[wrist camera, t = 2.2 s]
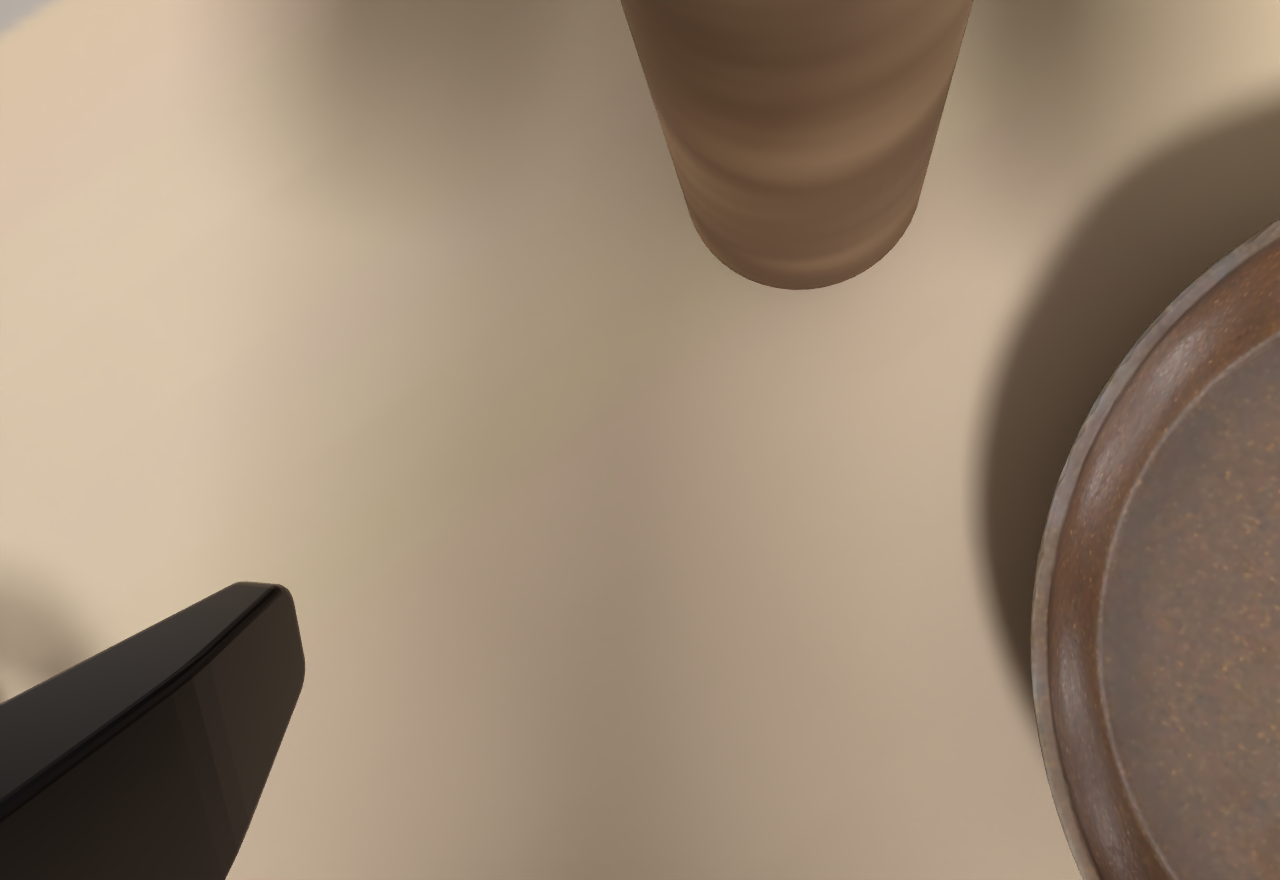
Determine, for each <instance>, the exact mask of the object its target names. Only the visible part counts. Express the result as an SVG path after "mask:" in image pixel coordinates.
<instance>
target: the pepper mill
mask: <svg viewBox="0 0 1280 880" xmlns="http://www.w3.org/2000/svg"><path fill="white" fill-rule="evenodd" d="M972 2H973V0H621V3H622V6H623V9H624V12H625V15H626V19H627V22H628V25H629V28H630V31H631V34H632V37H633V40H634V43H635V46H636V49H637V52H638V56H639V59H640V62H641V65H642V68H643V71H644V74H645V77H646V80H647V83H648V86H649V89H650V92H651V96H652V99H653V102H654V105H655V108H656V111H657V114H658V117H659V120H660V123H661V126H662V129H663V133H664V136H665V139H666V142H667V145H668V148H669V151H670V154H671V157H672V160H673V163H674V166H675V170H676V173H677V176H678V179H679V182H680V185H681V188H682V191H683V194H684V197H685V200H686V203H687V207H688V210H689V213H690V216H691V218H692V221H693V223H694V226H695V228H696V230H697V232H698V234H699V235H700V237H701V239H702V240H703V242H704V243H705V245H706V246H707V247H708V248H709V250H710V251H711V252H712V253H713V254H714V255H715V256H716V257H717V258H718V259H719V260H720V261H721V262H722V263H723V264H725V265H726V266H727V267H729V268H730V269H732V270H733V271H734V272H736V273H738V274H740V275H742V276H743V277H745V278H747V279H749V280H752V281H755V282H757V283H760V284H763V285H767V286H771V287H775V288H782V289H792V290H798V289H814V288H821V287H826V286H830V285H833V284H837V283H840V282H843V281H845V280H848V279H850V278H852V277H855V276H856V275H858V274H860V273H862V272H863V271H865V270H867V269H869V268H870V267H871V266H873V265H874V264H875V263H877V262H878V261H879V260H881V259H882V258H883V257H884V256H885V255H886V254H887V253H888V252H889V251H890V250H891V249H892V248H893V247H894V246H895V244H896V243H897V242H898V241H899V239H900V238H901V237H902V235H903V234H904V232H905V230H906V229H907V227H908V225H909V224H910V222H911V220H912V217H913V215H914V213H915V210H916V208H917V204H918V200H919V197H920V193H921V189H922V186H923V182H924V178H925V175H926V171H927V167H928V164H929V160H930V156H931V153H932V149H933V145H934V142H935V138H936V134H937V131H938V127H939V123H940V120H941V116H942V112H943V109H944V105H945V101H946V98H947V94H948V90H949V87H950V83H951V79H952V76H953V72H954V68H955V65H956V61H957V57H958V54H959V50H960V46H961V43H962V39H963V35H964V32H965V28H966V24H967V21H968V17H969V13H970V10H971V6H972Z"/></svg>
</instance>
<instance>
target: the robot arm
mask: <svg viewBox="0 0 1280 880" xmlns="http://www.w3.org/2000/svg"><path fill="white" fill-rule="evenodd" d="M304 676H305V658H304V653H303V647H302V642H301V637H300V632H299V626H298V621H297V616H296V611H295V605H294V601H293V598H292V595H291V593H290V591H289V590H288V589H287V588H286V587H284V586H282V585H280V584H270V583H258V582H237V583H234V584H232V585H230V586H228V587H226V588H224V589H222V590H220V591H219V592H217V593H215V594H213V595H211V596H209V597H207V598H205V599H203V600H201V601H199V602H197V603H195V604H193V605H191V606H189V607H188V608H186V609H184V610H182V611H180V612H178V613H176V614H174V615H172V616H170V617H168V618H166V619H164V620H162V621H160V622H158V623H156V624H155V625H153V626H151V627H149V628H147V629H145V630H143V631H141V632H139V633H137V634H135V635H133V636H131V637H129V638H127V639H125V640H124V641H122V642H120V643H118V644H116V645H114V646H112V647H110V648H108V649H106V650H104V651H102V652H100V653H98V654H96V655H94V656H93V657H91V658H89V659H87V660H85V661H83V662H81V663H79V664H77V665H75V666H73V667H71V668H69V669H67V670H65V671H63V672H62V673H60V674H58V675H56V676H54V677H52V678H50V679H48V680H46V681H44V682H42V683H40V684H38V685H36V686H34V687H32V688H30V689H29V690H27V691H25V692H23V693H21V694H19V695H17V696H15V697H13V698H11V699H9V700H7V701H5V702H3V703H1V704H0V880H225V879H226V877H227V874H228V872H229V870H230V868H231V866H232V864H233V862H234V860H235V858H236V856H237V854H238V852H239V849H240V847H241V844H242V842H243V840H244V837H245V835H246V832H247V830H248V828H249V825H250V823H251V820H252V817H253V815H254V812H255V810H256V807H257V804H258V802H259V799H260V797H261V794H262V791H263V789H264V786H265V784H266V781H267V778H268V776H269V773H270V771H271V768H272V765H273V763H274V760H275V758H276V755H277V752H278V750H279V747H280V745H281V742H282V739H283V737H284V734H285V732H286V729H287V726H288V724H289V721H290V719H291V716H292V713H293V711H294V708H295V706H296V703H297V700H298V698H299V695H300V692H301V689H302V686H303V682H304Z"/></svg>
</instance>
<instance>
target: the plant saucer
mask: <svg viewBox="0 0 1280 880" xmlns="http://www.w3.org/2000/svg"><path fill="white" fill-rule="evenodd" d="M1030 655H1031V678H1032V688H1033V699H1034V710H1035V716H1036V723H1037V729H1038V736H1039V741H1040V746H1041V750H1042V755H1043V760H1044V765H1045V769H1046V774H1047V778H1048V782H1049V785H1050V789H1051V792H1052V796H1053V799H1054V803H1055V806H1056V810H1057V813H1058V816H1059V819H1060V822H1061V825H1062V828H1063V831H1064V833H1065V836H1066V839H1067V842H1068V845H1069V847H1070V850H1071V852H1072V855H1073V857H1074V859H1075V862H1076V864H1077V867H1078V869H1079V871H1080V874H1081V876H1082V878H1083V880H1280V219H1278V220H1277V221H1275V222H1273V223H1272V224H1270V225H1268V226H1267V227H1265V228H1264V229H1262V230H1261V231H1259V232H1258V233H1256V234H1254V235H1253V236H1251V237H1250V238H1249V239H1247V240H1246V241H1244V242H1243V243H1241V244H1240V245H1239V246H1237V247H1236V248H1234V249H1233V250H1232V251H1230V252H1229V253H1228V254H1226V255H1225V256H1224V257H1222V258H1221V259H1219V260H1218V261H1217V262H1216V263H1214V264H1213V265H1212V266H1211V267H1210V268H1209V269H1207V270H1206V271H1205V272H1204V273H1203V274H1202V275H1200V276H1199V277H1198V278H1197V279H1196V280H1194V281H1193V282H1192V283H1191V284H1190V285H1189V286H1188V287H1187V288H1186V289H1185V290H1184V291H1183V292H1182V293H1181V294H1180V295H1178V296H1177V297H1176V298H1175V299H1174V300H1173V301H1172V302H1171V303H1170V304H1169V305H1168V306H1167V308H1166V309H1165V310H1164V311H1163V312H1162V313H1161V314H1160V315H1159V316H1158V317H1157V318H1156V319H1155V320H1154V322H1153V323H1152V324H1151V325H1150V326H1149V327H1148V328H1147V329H1146V330H1145V331H1144V333H1143V334H1142V335H1141V336H1140V337H1139V339H1138V340H1137V341H1136V342H1135V344H1134V345H1133V346H1132V348H1131V349H1130V351H1129V352H1128V353H1127V355H1126V356H1125V358H1124V359H1123V360H1122V362H1121V363H1120V364H1119V366H1118V367H1117V368H1116V370H1115V371H1114V372H1113V374H1112V375H1111V377H1110V379H1109V380H1108V382H1107V383H1106V385H1105V386H1104V388H1103V389H1102V391H1101V393H1100V394H1099V396H1098V397H1097V399H1096V401H1095V402H1094V404H1093V406H1092V408H1091V410H1090V412H1089V414H1088V416H1087V417H1086V419H1085V421H1084V423H1083V425H1082V427H1081V429H1080V431H1079V433H1078V435H1077V437H1076V439H1075V441H1074V443H1073V445H1072V448H1071V450H1070V453H1069V455H1068V458H1067V460H1066V463H1065V465H1064V468H1063V470H1062V473H1061V475H1060V477H1059V480H1058V482H1057V485H1056V488H1055V492H1054V495H1053V498H1052V501H1051V505H1050V508H1049V511H1048V515H1047V519H1046V523H1045V526H1044V530H1043V534H1042V540H1041V545H1040V549H1039V553H1038V558H1037V565H1036V572H1035V580H1034V588H1033V597H1032V610H1031V633H1030Z"/></svg>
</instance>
